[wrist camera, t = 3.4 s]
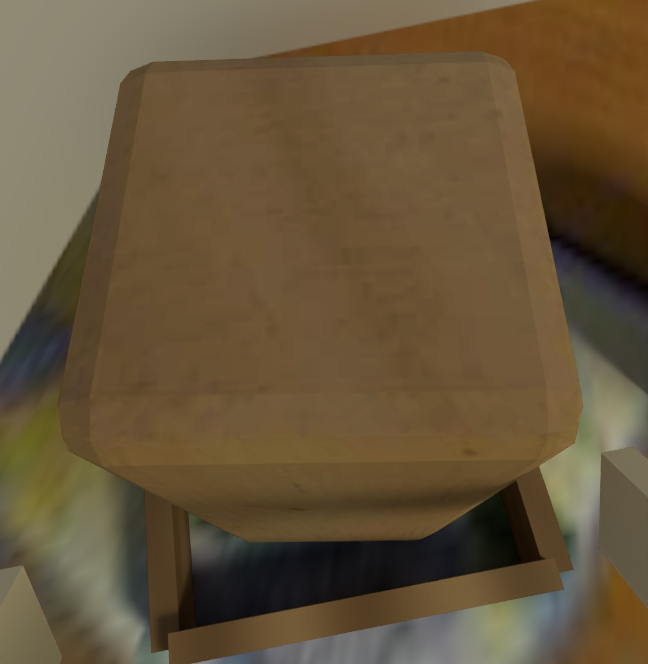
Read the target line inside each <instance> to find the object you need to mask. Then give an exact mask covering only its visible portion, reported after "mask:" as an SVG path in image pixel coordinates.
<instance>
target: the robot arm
mask: <svg viewBox="0 0 648 664" xmlns="http://www.w3.org/2000/svg"><path fill="white" fill-rule="evenodd" d="M599 549H600V551H601V552H602V553H603V554H604V555H605V557H606V558H607V559H608V560H609V562H610V563H611V564H612V565H613V567H614V568H615V569H616V570H617V572H618V573H619V574H620V575H621V576H622V578H623V579H624V580H625V581H626V583H627V584H628V585H629V586H630V588H631V589H632V590H633V591H634V593H635V594H636V595H637V596H638V598H639V599H640V600H641V601H642V602H643V604H644V605H645V606H646V607H647V609H648V459H647V458H646V457H645V456H644V455H642V454H641V453H640V452H639V451H638V450H636V449H635V448H634V447H629V448H624V449H619V450H614V451H609V452H604V453H601V481H600V524H599ZM61 659H62V656H61V654H60V651H59V649H58V647H57V644H56V642H55V639H54V637H53V635H52V632H51V630H50V628H49V625H48V623H47V621H46V618H45V616H44V614H43V611H42V609H41V607H40V604H39V602H38V600H37V597H36V595H35V593H34V590H33V588H32V586H31V583H30V581H29V579H28V576H27V574H26V572H25V569H24V567H23V565H22V566H17V567H12V568H7V569H2V570H0V664H60V662H61Z"/></svg>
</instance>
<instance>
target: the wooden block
mask: <svg viewBox="0 0 648 664" xmlns="http://www.w3.org/2000/svg"><path fill="white" fill-rule="evenodd" d="M58 406H59V414H60V421H61V429H62V436H63V439H64V441H65V444H66V446H67V449H68V451H69V452H71V453H73V454H75V455H77V456H79V457H81V458H83V459H85V460H87V461H89V462H91V463H93V464H95V465H97V466H99V467H101V468H103V469H105V470H107V471H109V472H111V473H113V474H115V475H116V476H118V477H120V478H122V479H124V480H126V481H128V482H130V483H132V484H134V485H136V486H138V487H140V488H142V489H144V490H146V491H148V492H150V493H152V494H154V495H156V496H158V497H160V498H162V499H164V500H166V501H167V502H169V503H171V504H173V505H175V506H177V507H179V508H181V509H183V510H185V511H187V512H189V513H191V514H193V515H195V516H197V517H199V518H201V519H203V520H205V521H207V522H209V523H211V524H213V525H215V526H216V527H218V528H220V529H222V530H224V531H226V532H228V533H230V534H232V535H234V536H236V537H239V538H241V539H243V540H245V541H248V542H321V541H410V540H421V539H423V538H425V537H427V536H429V535H431V534H433V533H435V532H437V531H438V530H440V529H441V528H443V527H444V526H446V525H448V524H449V523H451V522H452V521H454V520H455V519H457V518H458V517H460V516H462V515H463V514H465V513H466V512H468V511H469V510H471V509H473V508H474V507H476V506H477V505H479V504H480V503H482V502H483V501H485V500H487V499H488V498H490V497H491V496H493V495H494V494H496V493H497V492H499V491H501V490H502V489H504V488H505V487H507V486H508V485H510V484H512V483H513V482H515V481H516V480H518V479H519V478H521V477H522V476H524V475H526V474H527V473H529V472H530V471H532V470H533V469H535V468H536V467H538V466H540V465H541V464H543V463H544V462H546V461H547V460H549V459H551V458H552V457H554V456H555V455H557V454H558V453H560V452H561V451H563V450H565V449H566V448H568V447H569V446H571V445H572V444H574V443H575V439H576V434H577V430H578V426H579V421H580V417H581V412H582V408H583V402H582V394H581V389H580V384H579V379H578V374H577V369H576V365H575V360H574V355H573V350H572V345H571V340H570V336H569V331H568V326H567V321H566V316H565V311H564V307H563V302H562V297H561V292H560V287H559V283H558V278H557V273H556V268H555V263H554V258H553V254H552V249H551V244H550V239H549V234H548V229H547V225H546V220H545V215H544V210H543V205H542V200H541V196H540V191H539V186H538V181H537V176H536V172H535V167H534V162H533V157H532V152H531V147H530V143H529V138H528V133H527V128H526V123H525V118H524V114H523V109H522V104H521V99H520V94H519V89H518V85H517V80H516V75H515V71H514V70H513V69H512V67H511V66H510V65H509V64H508V63H507V61H506V60H505V59H503V58H500V57H497V56H494V55H491V54H488V53H485V52H482V51H471V52H440V53H410V54H379V55H348V56H318V57H287V58H257V59H226V60H196V61H165V62H151V63H149V64H147V65H144V66H142V67H139V68H137V69H134V70H132V71H130V72H129V74H128V75H127V76H126V77H125V79H124V80H123V81H122V82H121V84H120V88H119V94H118V99H117V104H116V109H115V115H114V120H113V124H112V129H111V135H110V140H109V145H108V150H107V155H106V160H105V166H104V170H103V176H102V181H101V186H100V191H99V196H98V201H97V206H96V212H95V217H94V222H93V227H92V232H91V237H90V242H89V247H88V253H87V258H86V263H85V268H84V273H83V278H82V283H81V288H80V294H79V299H78V304H77V309H76V314H75V319H74V324H73V330H72V335H71V340H70V345H69V350H68V355H67V360H66V365H65V371H64V376H63V381H62V386H61V391H60V396H59V401H58Z"/></svg>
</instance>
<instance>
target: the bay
mask: <svg viewBox="0 0 648 664" xmlns="http://www.w3.org/2000/svg"><path fill="white" fill-rule="evenodd" d="M500 493H501V496H502V500H503V503H504V506H505V510H506V513H507V516H508V520H509V523H510V526H511V530H512V533H513V536H514V540H515V543H516V546H517V549H518V553H519V556H520V559H521V563H519V564H514V565H509V566H504V567H499V568H494V569H489V570H484V571H479V572H473V573H468V574H463V575H458V576H453V577H448V578H443V579H438V580H433V581H428V582H423V583H417V584H412V585H407V586H402V587H397V588H392V589H387V590H382V591H377V592H372V593H367V594H361V595H356V596H351V597H346V598H341V599H336V600H331V601H326V602H321V603H316V604H311V605H305V606H300V607H295V608H290V609H285V610H280V611H275V612H270V613H265V614H260V615H255V616H249V617H244V618H239V619H234V620H229V621H224V622H219V623H214V624H209V625H204V626H199V627H196V615H195V601H194V588H193V574H192V560H191V547H190V533H189V520H188V512H187V511H185V510H183V509H181V508H179V507H177V506H175V505H173V504H171V503H169V502H167V501H166V500H164V499H162V498H160V497H158V496H156V495H154V494H152V493H150V492H148V491H146V490H144V495H145V518H146V541H147V565H148V588H149V611H150V634H151V653H154V652H159V651H164V650H169V664H191V663H196V662H201V661H206V660H211V659H216V658H222V657H227V656H232V655H237V654H242V653H247V652H252V651H257V650H262V649H267V648H272V647H277V646H282V645H287V644H292V643H297V642H302V641H307V640H312V639H317V638H322V637H327V636H332V635H337V634H342V633H347V632H352V631H357V630H362V629H367V628H372V627H377V626H382V625H387V624H392V623H397V622H402V621H407V620H412V619H417V618H422V617H427V616H432V615H437V614H442V613H447V612H452V611H457V610H462V609H467V608H472V607H477V606H482V605H487V604H492V603H497V602H503V601H508V600H513V599H518V598H523V597H528V596H533V595H538V594H543V593H548V592H553V591H558V590H563V589H564V587H563V584H562V581H561V578H560V575H559V572H563V571H569V570H574V569H573V566H572V563H571V560H570V557H569V554H568V551H567V548H566V545H565V542H564V539H563V537H562V534H561V531H560V528H559V525H558V522H557V519H556V516H555V513H554V510H553V507H552V504H551V501H550V498H549V495H548V492H547V489H546V486H545V483H544V480H543V477H542V474H541V471H540V468H539V466H538V467H536V468H535V469H533V470H532V471H530V472H529V473H527V474H526V475H524V476H522V477H521V478H519V479H518V480H516V481H515V482H513V483H512V484H510V485H508V486H507V487H505V488H504V489H502V490H501V491H500Z"/></svg>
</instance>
